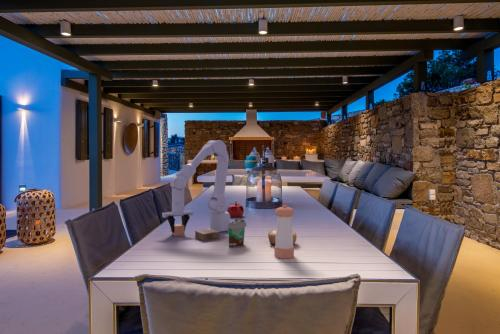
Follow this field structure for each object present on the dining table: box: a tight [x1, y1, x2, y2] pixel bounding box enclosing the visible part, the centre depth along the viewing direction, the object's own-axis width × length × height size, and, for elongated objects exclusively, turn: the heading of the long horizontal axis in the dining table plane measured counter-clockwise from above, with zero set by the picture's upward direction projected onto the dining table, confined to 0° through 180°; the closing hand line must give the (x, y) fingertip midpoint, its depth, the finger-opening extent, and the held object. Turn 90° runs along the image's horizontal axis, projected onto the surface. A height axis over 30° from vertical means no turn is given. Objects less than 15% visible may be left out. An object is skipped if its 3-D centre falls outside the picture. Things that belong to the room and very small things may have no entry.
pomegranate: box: [226, 200, 245, 218], centre depth 228 cm, size 10×10×9 cm
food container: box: [228, 217, 247, 248], centre depth 161 cm, size 12×6×10 cm, turn 168°
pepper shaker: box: [273, 204, 295, 260], centre depth 144 cm, size 7×7×19 cm
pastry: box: [267, 229, 297, 247], centre depth 163 cm, size 12×12×9 cm
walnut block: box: [194, 228, 220, 242], centre depth 172 cm, size 8×8×4 cm
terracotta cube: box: [171, 223, 186, 237], centre depth 179 cm, size 4×4×4 cm
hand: (178, 231), depth 179 cm, fingers closed on terracotta cube, 4 cm apart
